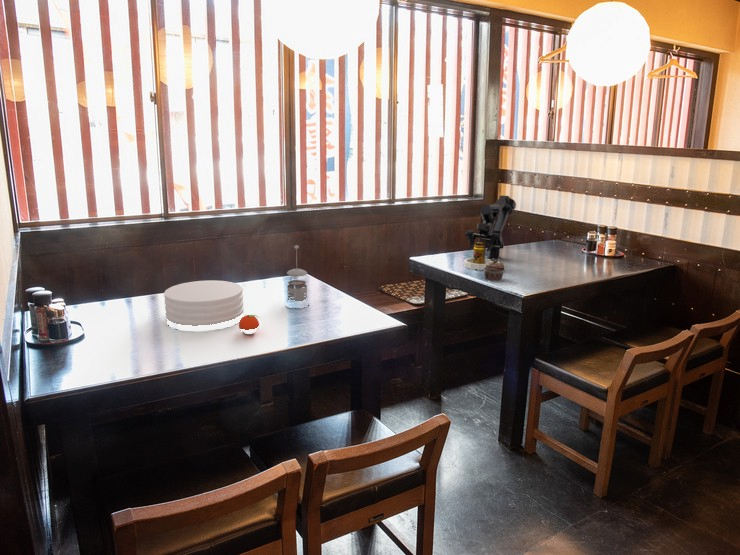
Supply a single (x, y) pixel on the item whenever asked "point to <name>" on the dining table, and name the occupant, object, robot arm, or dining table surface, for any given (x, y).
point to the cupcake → (494, 270)
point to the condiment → (479, 253)
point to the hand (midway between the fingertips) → (478, 250)
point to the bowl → (475, 266)
